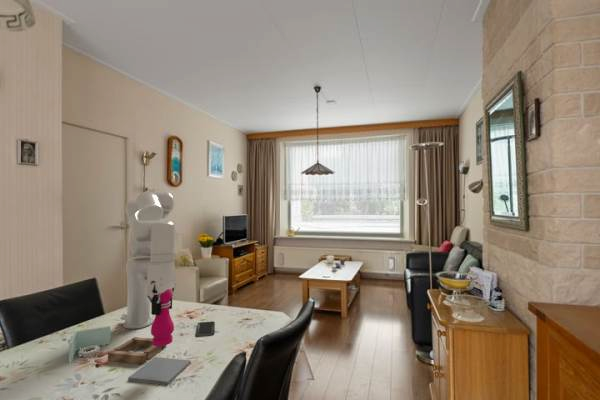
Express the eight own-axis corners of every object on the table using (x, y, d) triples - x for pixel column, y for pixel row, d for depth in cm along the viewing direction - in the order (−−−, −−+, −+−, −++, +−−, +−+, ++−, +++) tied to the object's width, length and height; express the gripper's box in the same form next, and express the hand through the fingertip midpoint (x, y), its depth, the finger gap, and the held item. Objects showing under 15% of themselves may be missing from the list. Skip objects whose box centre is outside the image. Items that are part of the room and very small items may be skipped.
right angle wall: (68, 364, 113) (69, 343, 114) (74, 350, 124) (74, 331, 124) (108, 356, 119) (108, 336, 119) (110, 344, 130) (110, 325, 130)
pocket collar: (107, 361, 115) (108, 352, 115) (134, 344, 128) (134, 337, 128) (142, 364, 112) (143, 356, 112) (166, 347, 126) (166, 339, 126)
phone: (195, 335, 136) (197, 322, 151) (195, 337, 136) (197, 324, 151) (214, 333, 138) (215, 321, 153) (214, 336, 138) (215, 323, 153)
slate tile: (128, 380, 102) (128, 377, 102) (155, 359, 116) (155, 356, 116) (168, 384, 100) (168, 381, 100) (190, 363, 113) (190, 360, 114)
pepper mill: (178, 339, 110) (178, 281, 111) (163, 348, 103) (163, 286, 104) (161, 337, 112) (161, 280, 113) (145, 345, 105) (146, 284, 106)
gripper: (167, 254, 118) (166, 303, 117) (135, 262, 101) (134, 319, 100) (186, 254, 116) (185, 304, 116) (157, 262, 99) (156, 321, 99)
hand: (162, 311), depth 108 cm, fingers closed on pepper mill, 5 cm apart
